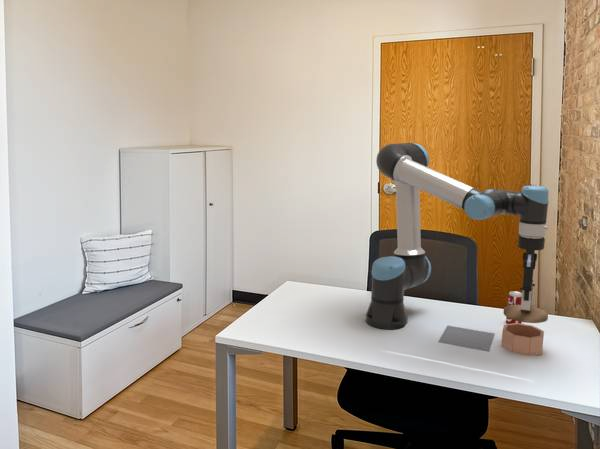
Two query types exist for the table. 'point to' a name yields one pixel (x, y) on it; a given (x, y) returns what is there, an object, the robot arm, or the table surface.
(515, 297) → the soda can
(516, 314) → the lid
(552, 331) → the table surface
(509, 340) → the bowl
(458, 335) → the mat
